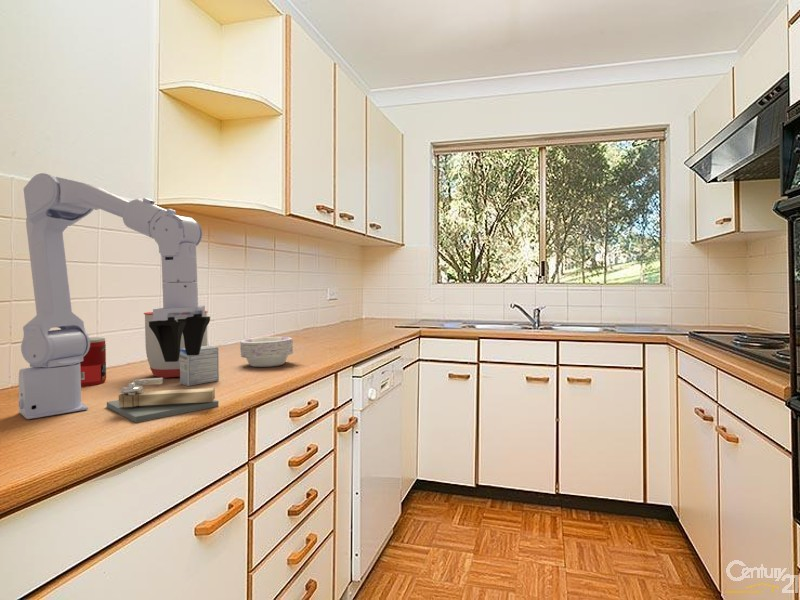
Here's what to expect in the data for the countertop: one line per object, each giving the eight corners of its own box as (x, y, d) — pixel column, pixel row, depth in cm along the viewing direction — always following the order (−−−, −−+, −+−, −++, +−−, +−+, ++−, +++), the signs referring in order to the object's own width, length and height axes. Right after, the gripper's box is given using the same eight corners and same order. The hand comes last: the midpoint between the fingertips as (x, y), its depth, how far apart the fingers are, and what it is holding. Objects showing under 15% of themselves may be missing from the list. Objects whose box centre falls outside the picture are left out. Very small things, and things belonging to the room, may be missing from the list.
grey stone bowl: (237, 363, 145) (236, 337, 145) (286, 359, 152) (286, 335, 152) (245, 371, 132) (244, 343, 132) (298, 366, 139) (298, 339, 138)
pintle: (124, 415, 86) (124, 386, 86) (118, 412, 89) (117, 383, 88) (145, 411, 89) (145, 382, 89) (139, 408, 91) (138, 380, 91)
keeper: (162, 403, 95) (161, 379, 95) (133, 406, 93) (132, 380, 93) (163, 401, 97) (162, 377, 96) (134, 404, 95) (134, 379, 95)
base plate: (135, 422, 82) (135, 416, 82) (106, 407, 93) (106, 402, 93) (218, 406, 93) (218, 401, 93) (184, 393, 104) (184, 389, 104)
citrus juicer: (201, 366, 140) (200, 299, 139) (214, 375, 125) (213, 300, 124) (141, 372, 131) (140, 300, 130) (148, 382, 116) (146, 301, 116)
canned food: (110, 383, 116) (109, 338, 116) (71, 388, 110) (70, 341, 110) (101, 379, 122) (100, 336, 121) (63, 383, 116) (62, 339, 115)
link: (116, 407, 86) (115, 396, 86) (123, 402, 90) (123, 392, 90) (211, 402, 90) (211, 391, 90) (215, 397, 94) (215, 387, 94)
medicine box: (210, 379, 121) (209, 345, 121) (219, 381, 118) (218, 346, 118) (179, 384, 115) (178, 348, 114) (188, 386, 112) (187, 350, 112)
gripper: (181, 281, 77) (184, 364, 77) (219, 282, 92) (221, 352, 92) (139, 282, 77) (142, 365, 78) (183, 283, 92) (186, 352, 92)
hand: (182, 358), depth 85 cm, fingers open, 7 cm apart
